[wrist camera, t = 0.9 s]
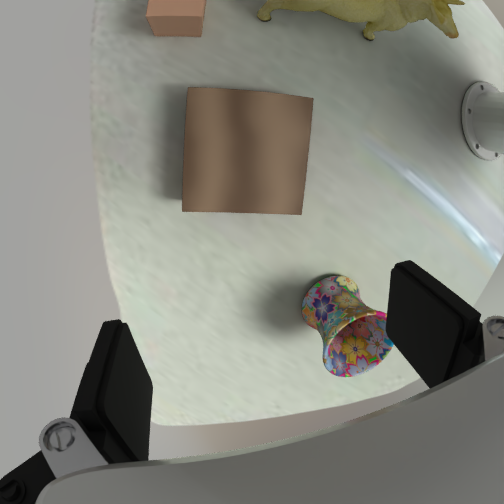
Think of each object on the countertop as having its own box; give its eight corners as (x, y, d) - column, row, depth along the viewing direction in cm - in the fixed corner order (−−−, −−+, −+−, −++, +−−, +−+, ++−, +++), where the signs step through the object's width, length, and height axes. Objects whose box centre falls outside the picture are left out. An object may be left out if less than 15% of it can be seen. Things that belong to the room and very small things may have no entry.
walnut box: (298, 101, 33) (313, 98, 28) (288, 203, 37) (301, 214, 33) (189, 92, 31) (187, 87, 26) (184, 200, 35) (182, 211, 30)
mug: (289, 326, 43) (312, 378, 34) (308, 265, 40) (340, 309, 31) (360, 330, 46) (393, 374, 36) (383, 276, 43) (424, 314, 33)
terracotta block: (206, -1, 26) (209, -27, 20) (201, 37, 28) (202, 16, 22) (161, -2, 25) (154, -28, 19) (155, 36, 27) (145, 16, 21)
